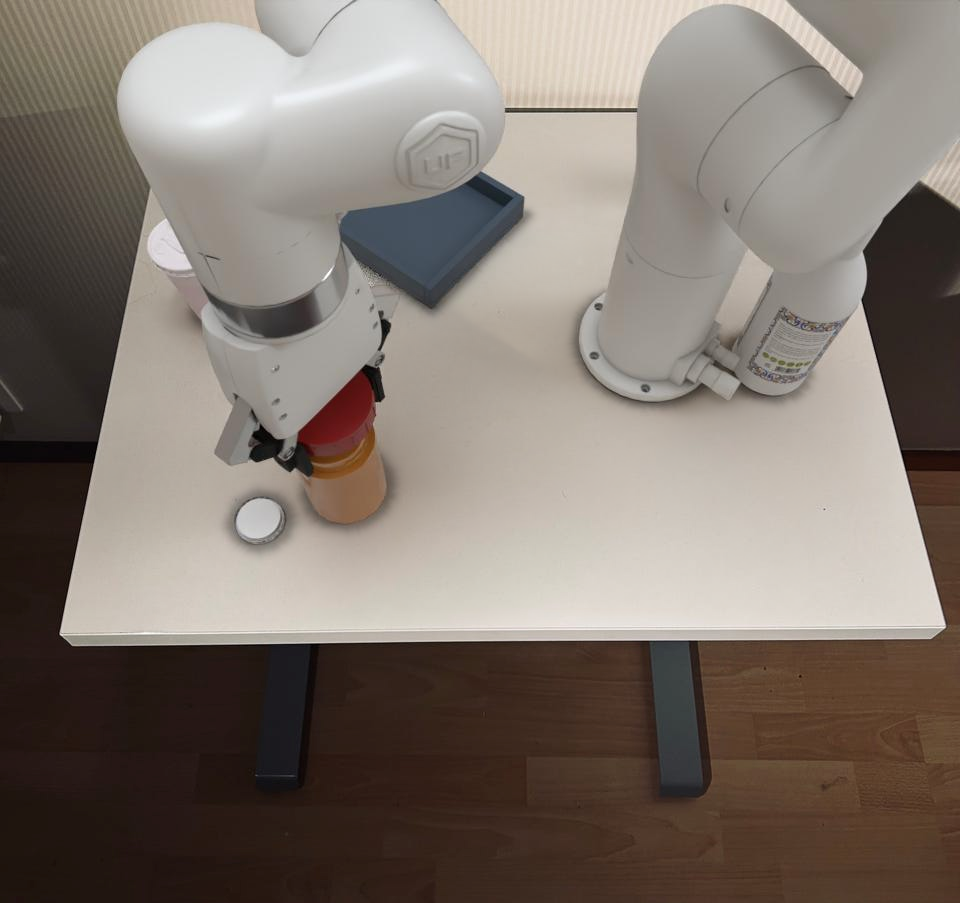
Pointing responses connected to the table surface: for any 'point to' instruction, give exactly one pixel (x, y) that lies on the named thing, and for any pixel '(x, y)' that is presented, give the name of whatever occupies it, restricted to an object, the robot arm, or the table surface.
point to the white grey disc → (259, 520)
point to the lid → (341, 420)
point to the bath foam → (799, 322)
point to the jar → (347, 482)
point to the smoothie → (175, 265)
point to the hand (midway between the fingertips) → (332, 425)
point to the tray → (433, 235)
